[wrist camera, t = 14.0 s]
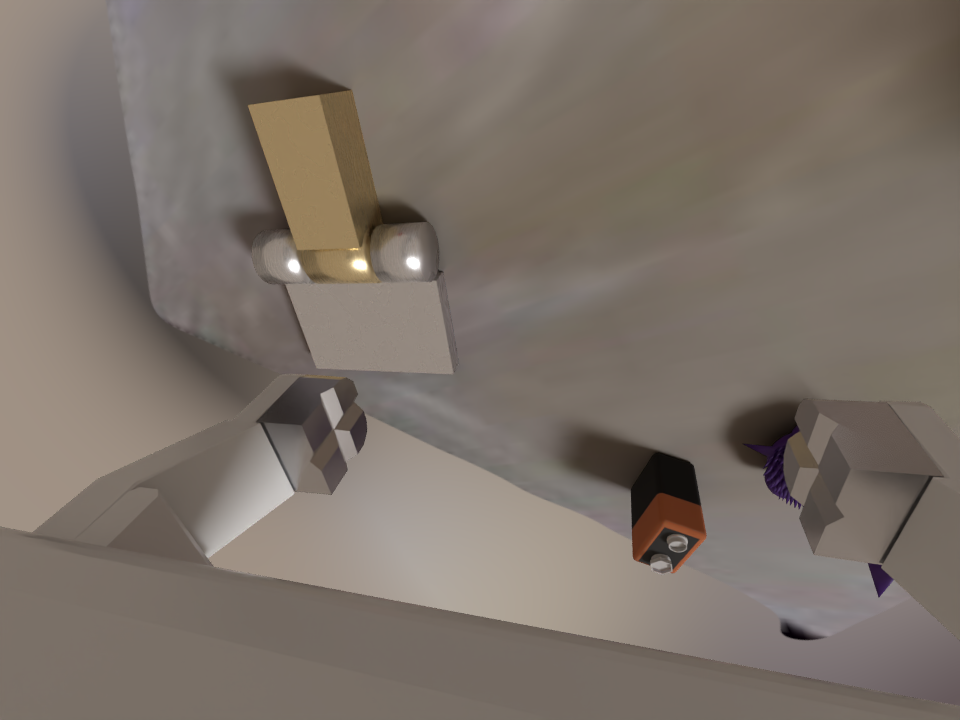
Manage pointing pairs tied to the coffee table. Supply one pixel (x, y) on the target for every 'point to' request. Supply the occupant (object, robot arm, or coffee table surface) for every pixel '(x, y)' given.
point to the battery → (666, 514)
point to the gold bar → (322, 182)
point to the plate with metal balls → (371, 303)
